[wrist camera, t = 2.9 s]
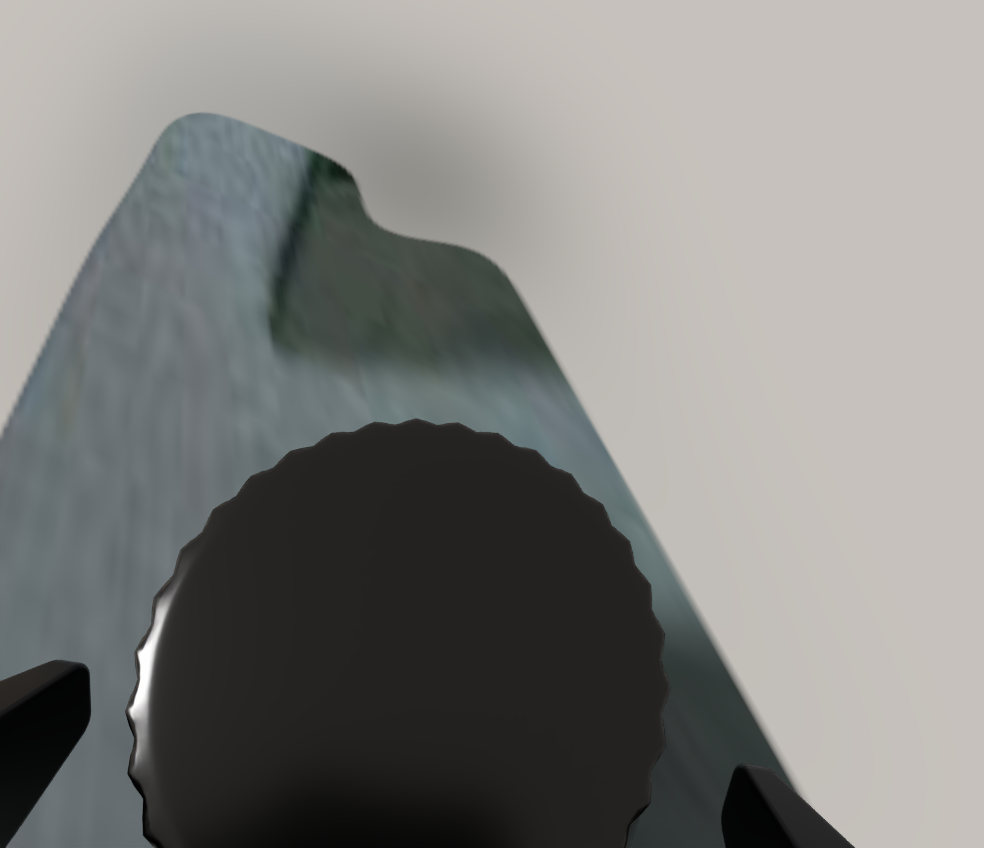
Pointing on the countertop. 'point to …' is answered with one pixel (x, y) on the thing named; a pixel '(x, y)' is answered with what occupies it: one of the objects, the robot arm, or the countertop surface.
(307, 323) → the countertop surface
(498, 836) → the supplement bottle
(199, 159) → the countertop surface
